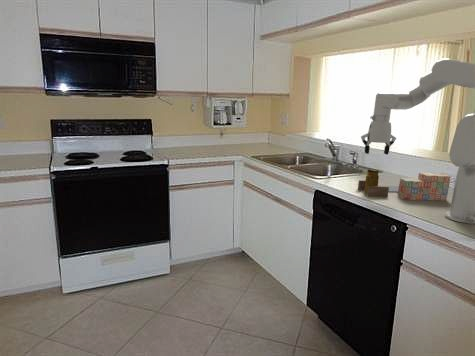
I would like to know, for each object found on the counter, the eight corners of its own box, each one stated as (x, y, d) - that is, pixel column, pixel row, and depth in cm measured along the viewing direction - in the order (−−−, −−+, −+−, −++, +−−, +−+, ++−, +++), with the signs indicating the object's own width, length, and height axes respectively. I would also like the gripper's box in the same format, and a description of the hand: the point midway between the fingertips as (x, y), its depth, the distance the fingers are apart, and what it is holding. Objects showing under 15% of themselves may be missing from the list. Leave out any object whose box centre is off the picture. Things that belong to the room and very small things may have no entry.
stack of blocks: (403, 199, 171) (407, 174, 168) (397, 196, 177) (400, 172, 174) (446, 200, 172) (451, 176, 169) (439, 197, 178) (443, 173, 175)
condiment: (363, 190, 185) (366, 167, 183) (381, 192, 182) (384, 169, 180) (362, 193, 179) (365, 170, 176) (380, 196, 176) (384, 172, 173)
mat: (408, 192, 184) (408, 191, 184) (385, 192, 183) (385, 191, 183) (397, 186, 196) (397, 185, 195) (375, 186, 195) (375, 185, 195)
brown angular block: (387, 196, 174) (388, 187, 173) (367, 196, 174) (368, 186, 173) (376, 189, 187) (377, 180, 186) (357, 189, 187) (358, 180, 186)
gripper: (366, 118, 168) (362, 154, 172) (402, 120, 169) (396, 155, 173) (360, 117, 175) (356, 151, 180) (394, 119, 176) (389, 153, 180)
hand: (376, 153), depth 176 cm, fingers open, 9 cm apart
